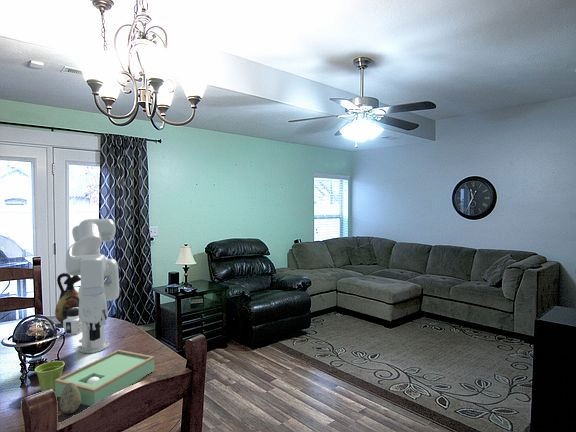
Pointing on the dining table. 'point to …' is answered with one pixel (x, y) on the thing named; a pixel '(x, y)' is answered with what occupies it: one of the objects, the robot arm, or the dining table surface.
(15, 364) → the dining table surface
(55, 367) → the plant pot
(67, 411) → the decorative egg
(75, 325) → the container
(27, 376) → the dining table surface
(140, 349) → the dining table surface
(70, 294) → the ceramic jug
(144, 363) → the putting tray
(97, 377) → the ball
